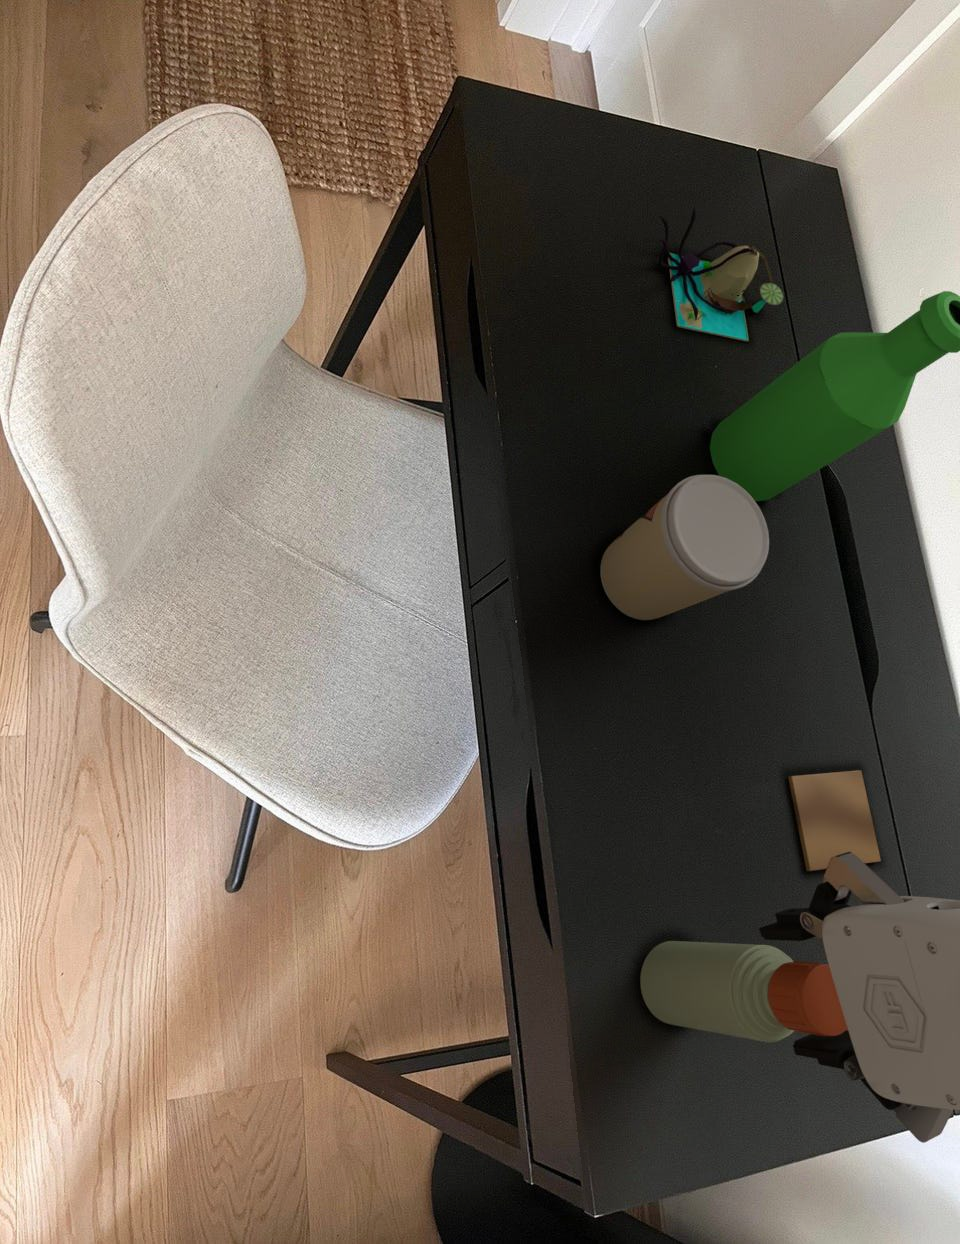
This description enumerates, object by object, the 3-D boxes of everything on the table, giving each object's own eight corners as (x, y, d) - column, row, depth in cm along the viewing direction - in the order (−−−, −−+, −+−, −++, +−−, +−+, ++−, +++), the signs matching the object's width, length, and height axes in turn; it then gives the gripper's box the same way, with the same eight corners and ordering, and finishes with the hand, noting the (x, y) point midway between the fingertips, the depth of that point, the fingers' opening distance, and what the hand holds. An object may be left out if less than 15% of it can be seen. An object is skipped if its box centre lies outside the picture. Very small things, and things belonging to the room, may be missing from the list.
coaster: (877, 861, 82) (881, 861, 81) (806, 871, 78) (810, 871, 78) (857, 770, 84) (861, 770, 83) (787, 776, 80) (791, 776, 80)
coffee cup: (666, 523, 83) (751, 466, 73) (696, 622, 81) (788, 578, 71) (578, 533, 79) (654, 475, 69) (608, 637, 77) (691, 593, 67)
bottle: (690, 431, 87) (894, 268, 65) (754, 413, 91) (967, 253, 69) (730, 515, 86) (951, 377, 64) (793, 493, 90) (1022, 356, 68)
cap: (775, 1037, 58) (811, 1043, 55) (761, 968, 58) (795, 970, 56) (825, 1023, 59) (863, 1028, 56) (810, 956, 60) (846, 958, 57)
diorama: (768, 346, 95) (805, 315, 90) (643, 319, 89) (675, 285, 84) (753, 253, 98) (788, 218, 93) (631, 222, 92) (661, 183, 88)
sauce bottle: (717, 1004, 72) (873, 1025, 58) (658, 1038, 69) (805, 1070, 55) (688, 928, 73) (834, 931, 58) (628, 959, 70) (766, 971, 56)
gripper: (935, 842, 44) (709, 861, 59) (1068, 1240, 40) (789, 1148, 56) (1037, 808, 47) (796, 835, 63) (1168, 1175, 43) (877, 1105, 59)
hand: (795, 983), depth 59 cm, fingers open, 6 cm apart
